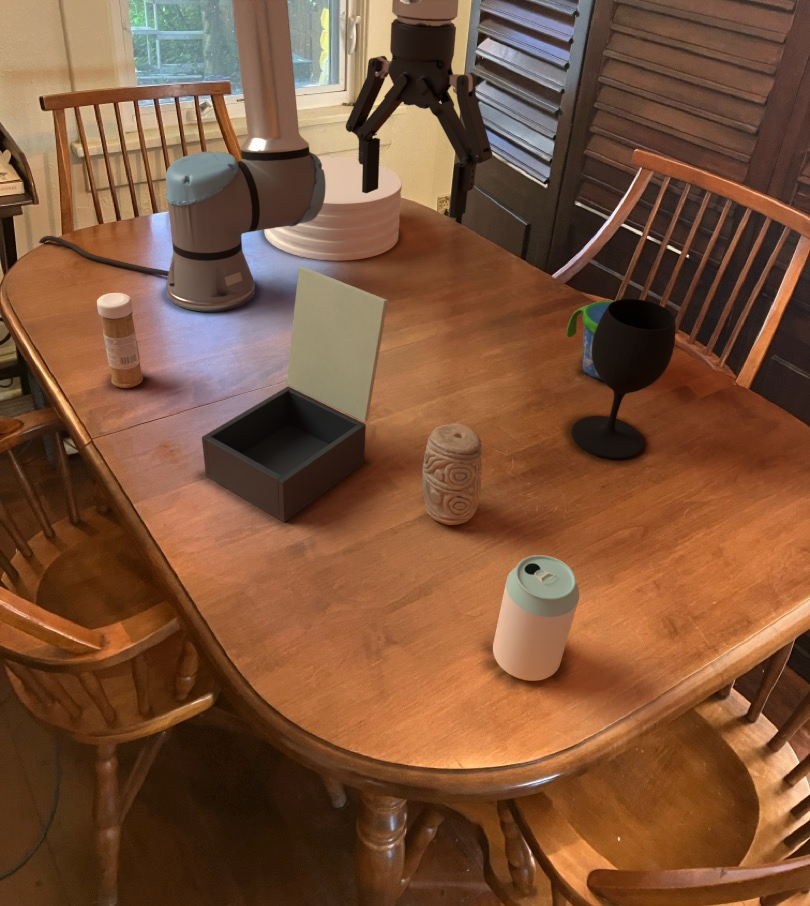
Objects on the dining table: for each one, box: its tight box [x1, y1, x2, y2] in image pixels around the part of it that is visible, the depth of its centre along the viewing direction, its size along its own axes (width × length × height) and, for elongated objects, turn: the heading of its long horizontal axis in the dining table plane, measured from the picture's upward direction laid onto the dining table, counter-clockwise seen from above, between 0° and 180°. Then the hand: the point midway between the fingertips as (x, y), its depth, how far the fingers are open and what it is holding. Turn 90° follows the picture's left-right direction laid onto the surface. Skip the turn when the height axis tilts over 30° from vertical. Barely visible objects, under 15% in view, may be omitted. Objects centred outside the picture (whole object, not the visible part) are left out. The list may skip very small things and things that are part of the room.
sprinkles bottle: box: [96, 292, 144, 389], centre depth 115 cm, size 5×5×13 cm
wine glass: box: [571, 298, 677, 461], centre depth 110 cm, size 10×10×20 cm
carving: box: [421, 422, 483, 526], centre depth 97 cm, size 6×8×12 cm
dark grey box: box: [201, 385, 367, 523], centre depth 103 cm, size 16×14×6 cm
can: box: [492, 554, 580, 682], centre depth 80 cm, size 7×7×12 cm
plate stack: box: [263, 156, 403, 262], centre depth 165 cm, size 28×28×12 cm
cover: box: [286, 265, 388, 423], centre depth 102 cm, size 16×14×1 cm
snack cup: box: [566, 300, 615, 382], centre depth 128 cm, size 16×10×10 cm
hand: (412, 202), depth 105 cm, fingers open, 13 cm apart
